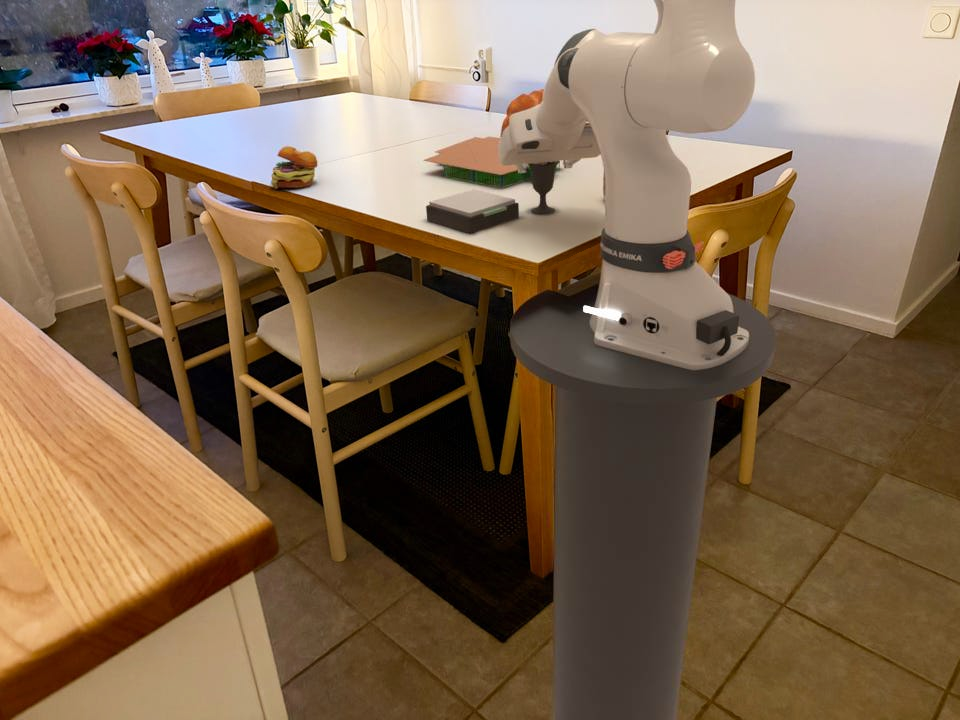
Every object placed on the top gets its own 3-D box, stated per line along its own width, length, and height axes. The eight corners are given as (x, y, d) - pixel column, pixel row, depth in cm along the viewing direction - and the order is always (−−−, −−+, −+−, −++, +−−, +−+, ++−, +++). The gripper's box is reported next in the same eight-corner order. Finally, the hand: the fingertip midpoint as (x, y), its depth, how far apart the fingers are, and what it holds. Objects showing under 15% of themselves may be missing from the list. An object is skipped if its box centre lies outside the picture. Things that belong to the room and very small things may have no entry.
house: (510, 190, 164) (510, 153, 160) (412, 170, 185) (409, 137, 181) (573, 170, 179) (574, 135, 175) (475, 153, 199) (474, 122, 195)
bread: (494, 141, 212) (493, 93, 206) (557, 123, 233) (557, 79, 227) (538, 147, 203) (538, 97, 197) (599, 127, 224) (601, 82, 218)
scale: (519, 218, 146) (519, 199, 145) (471, 234, 139) (470, 214, 137) (474, 206, 155) (473, 188, 153) (426, 220, 147) (425, 201, 146)
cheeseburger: (263, 184, 178) (265, 142, 175) (304, 187, 184) (307, 146, 181) (279, 192, 170) (282, 147, 167) (322, 194, 177) (325, 152, 173)
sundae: (566, 210, 150) (567, 134, 143) (544, 217, 146) (544, 140, 139) (541, 204, 154) (541, 130, 147) (519, 211, 150) (518, 136, 143)
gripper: (609, 106, 136) (590, 149, 149) (501, 115, 133) (491, 158, 146) (617, 135, 134) (597, 176, 147) (507, 145, 131) (497, 186, 144)
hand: (544, 167), depth 147 cm, fingers open, 8 cm apart
